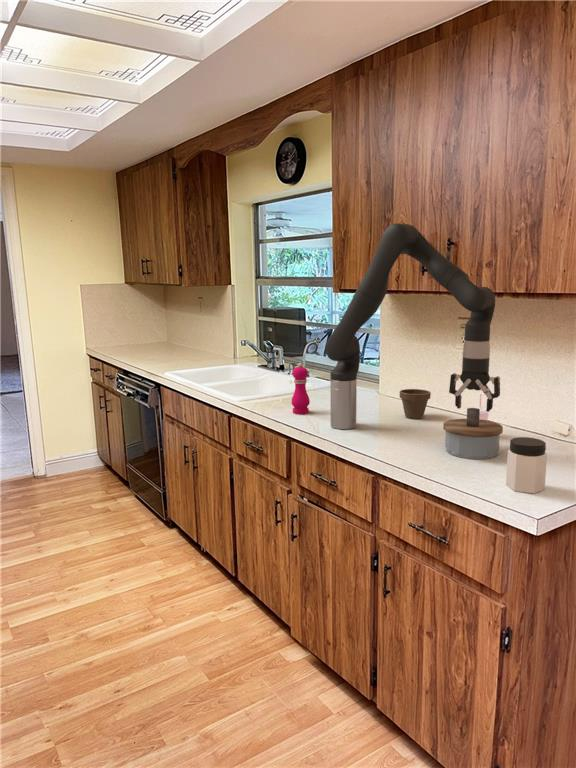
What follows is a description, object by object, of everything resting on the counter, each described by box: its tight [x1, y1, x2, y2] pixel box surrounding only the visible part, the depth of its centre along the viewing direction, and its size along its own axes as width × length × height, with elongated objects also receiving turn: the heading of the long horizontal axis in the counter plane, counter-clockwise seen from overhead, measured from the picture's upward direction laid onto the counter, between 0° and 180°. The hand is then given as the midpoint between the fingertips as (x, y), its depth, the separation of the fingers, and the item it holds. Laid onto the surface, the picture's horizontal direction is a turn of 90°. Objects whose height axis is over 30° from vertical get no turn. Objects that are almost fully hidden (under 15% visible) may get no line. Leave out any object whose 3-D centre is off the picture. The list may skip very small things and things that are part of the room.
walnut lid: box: [442, 407, 504, 437], centre depth 170 cm, size 17×17×6 cm
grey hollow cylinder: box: [444, 431, 501, 460], centre depth 171 cm, size 15×15×7 cm
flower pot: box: [399, 388, 432, 420], centre depth 214 cm, size 12×11×10 cm
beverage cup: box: [471, 393, 490, 421], centre depth 188 cm, size 6×6×14 cm
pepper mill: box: [291, 362, 311, 415], centre depth 223 cm, size 7×7×20 cm
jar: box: [505, 436, 548, 494], centre depth 141 cm, size 9×8×12 cm
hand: (473, 409), depth 169 cm, fingers open, 8 cm apart
